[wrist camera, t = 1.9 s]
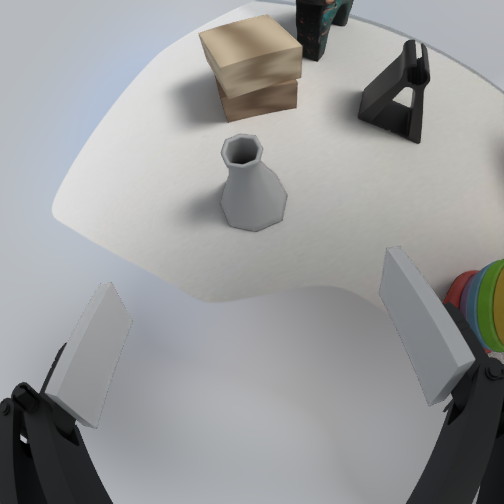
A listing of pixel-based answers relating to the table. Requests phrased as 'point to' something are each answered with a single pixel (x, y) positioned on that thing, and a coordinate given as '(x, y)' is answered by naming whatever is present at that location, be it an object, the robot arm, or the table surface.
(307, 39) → the ceramic cat
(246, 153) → the flask
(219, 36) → the block upper
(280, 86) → the block lower
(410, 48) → the phone stand
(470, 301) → the stacking bear
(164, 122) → the table surface
